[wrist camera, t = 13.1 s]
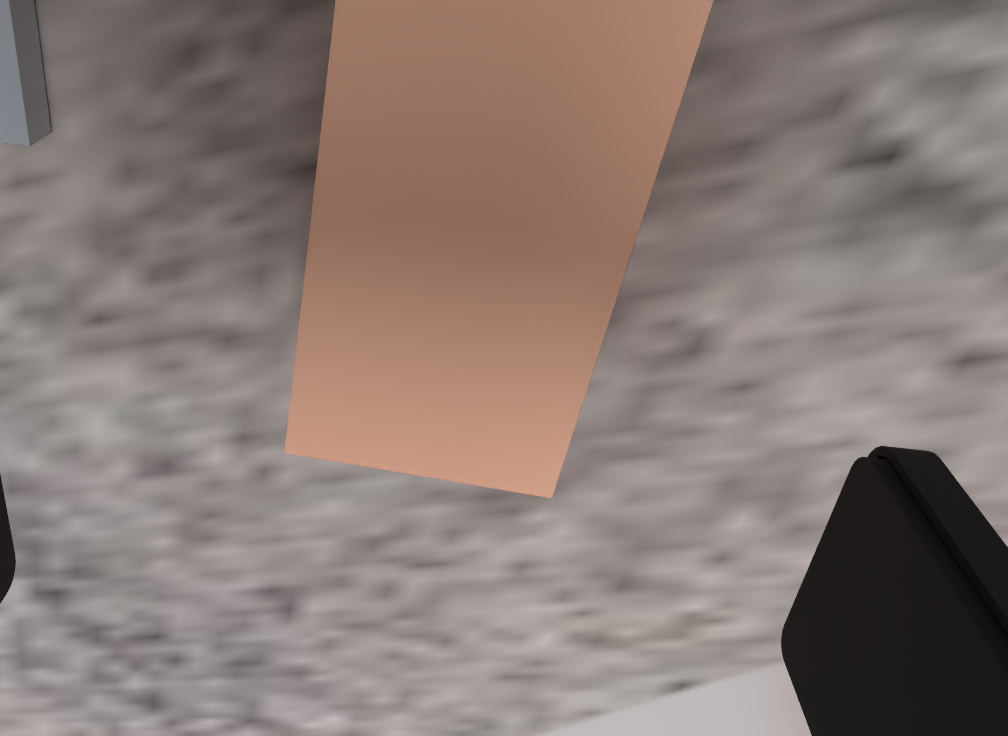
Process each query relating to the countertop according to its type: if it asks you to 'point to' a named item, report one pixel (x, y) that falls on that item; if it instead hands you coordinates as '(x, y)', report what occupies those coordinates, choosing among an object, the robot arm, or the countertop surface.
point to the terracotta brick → (477, 225)
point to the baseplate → (21, 76)
